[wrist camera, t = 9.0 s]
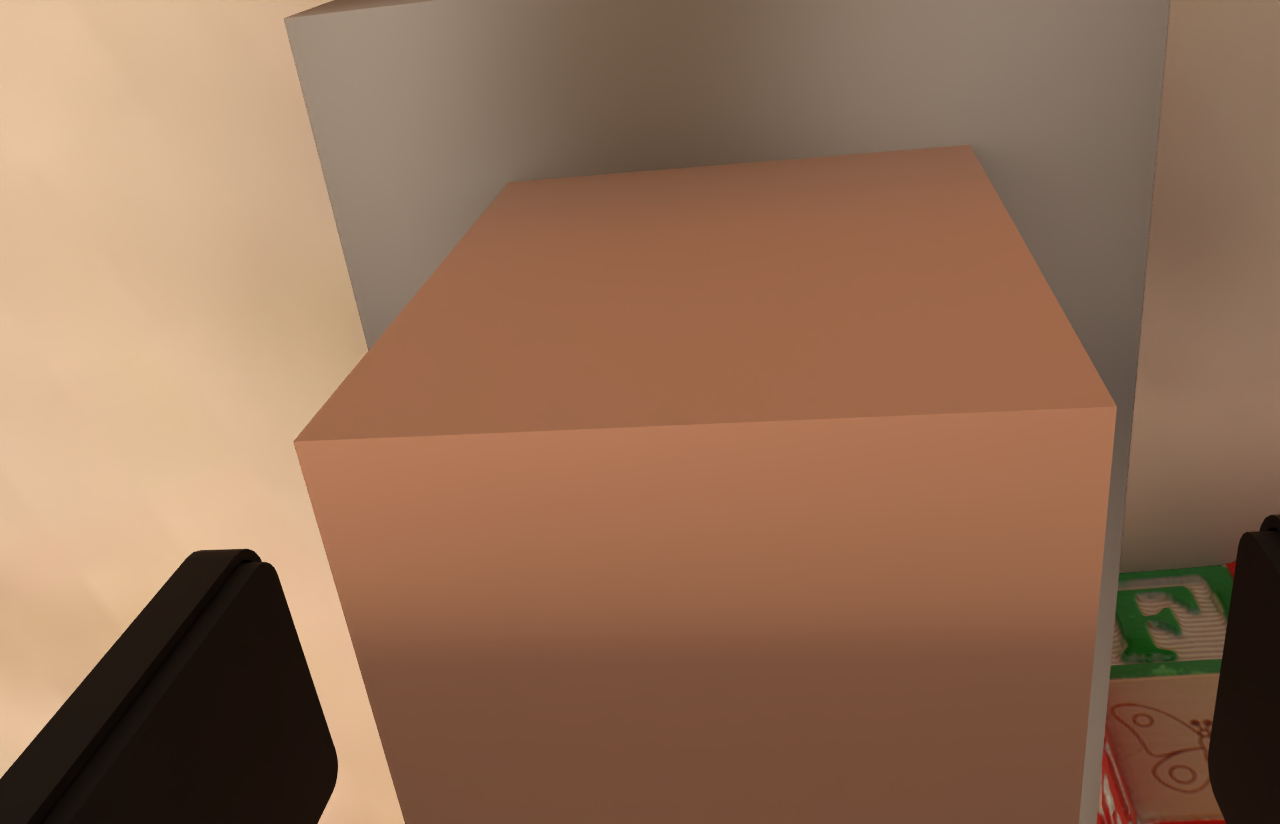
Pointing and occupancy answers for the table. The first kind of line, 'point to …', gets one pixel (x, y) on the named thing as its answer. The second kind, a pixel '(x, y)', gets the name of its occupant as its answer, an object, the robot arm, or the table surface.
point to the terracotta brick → (726, 506)
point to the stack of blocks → (1164, 696)
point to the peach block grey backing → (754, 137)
